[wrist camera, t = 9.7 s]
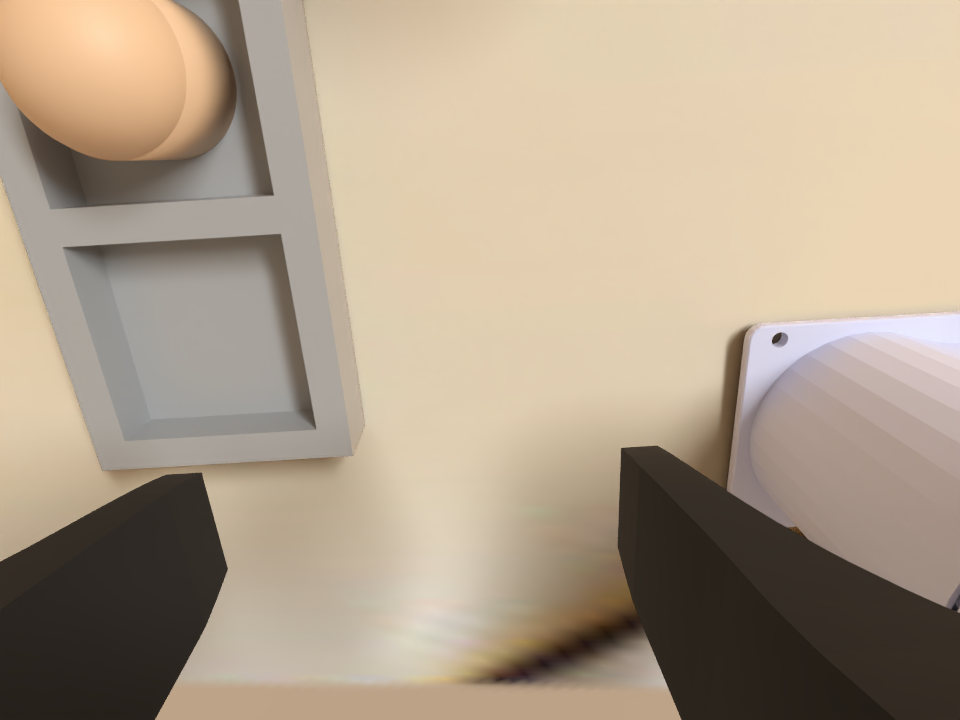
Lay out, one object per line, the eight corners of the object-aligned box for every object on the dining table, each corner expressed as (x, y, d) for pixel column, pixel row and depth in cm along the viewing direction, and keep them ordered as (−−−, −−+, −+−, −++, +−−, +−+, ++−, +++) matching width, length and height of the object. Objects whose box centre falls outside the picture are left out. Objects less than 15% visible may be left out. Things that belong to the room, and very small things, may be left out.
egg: (218, -9, 14) (112, -78, 10) (250, 155, 16) (168, 155, 11) (65, 1, 14) (-104, -64, 10) (111, 164, 16) (-22, 167, 11)
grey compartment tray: (229, -497, 12) (180, -630, 10) (364, 425, 19) (353, 456, 17) (-143, -472, 12) (-267, -599, 10) (139, 438, 19) (102, 470, 17)
